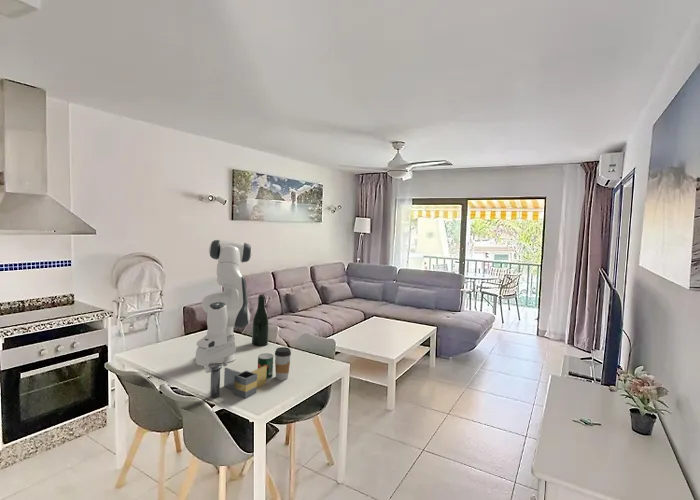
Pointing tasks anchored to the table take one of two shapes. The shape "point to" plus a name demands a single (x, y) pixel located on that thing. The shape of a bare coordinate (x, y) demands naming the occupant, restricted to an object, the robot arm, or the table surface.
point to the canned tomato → (266, 363)
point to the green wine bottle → (260, 324)
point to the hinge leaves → (245, 381)
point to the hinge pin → (215, 380)
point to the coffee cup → (282, 362)
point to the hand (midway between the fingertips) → (216, 368)
